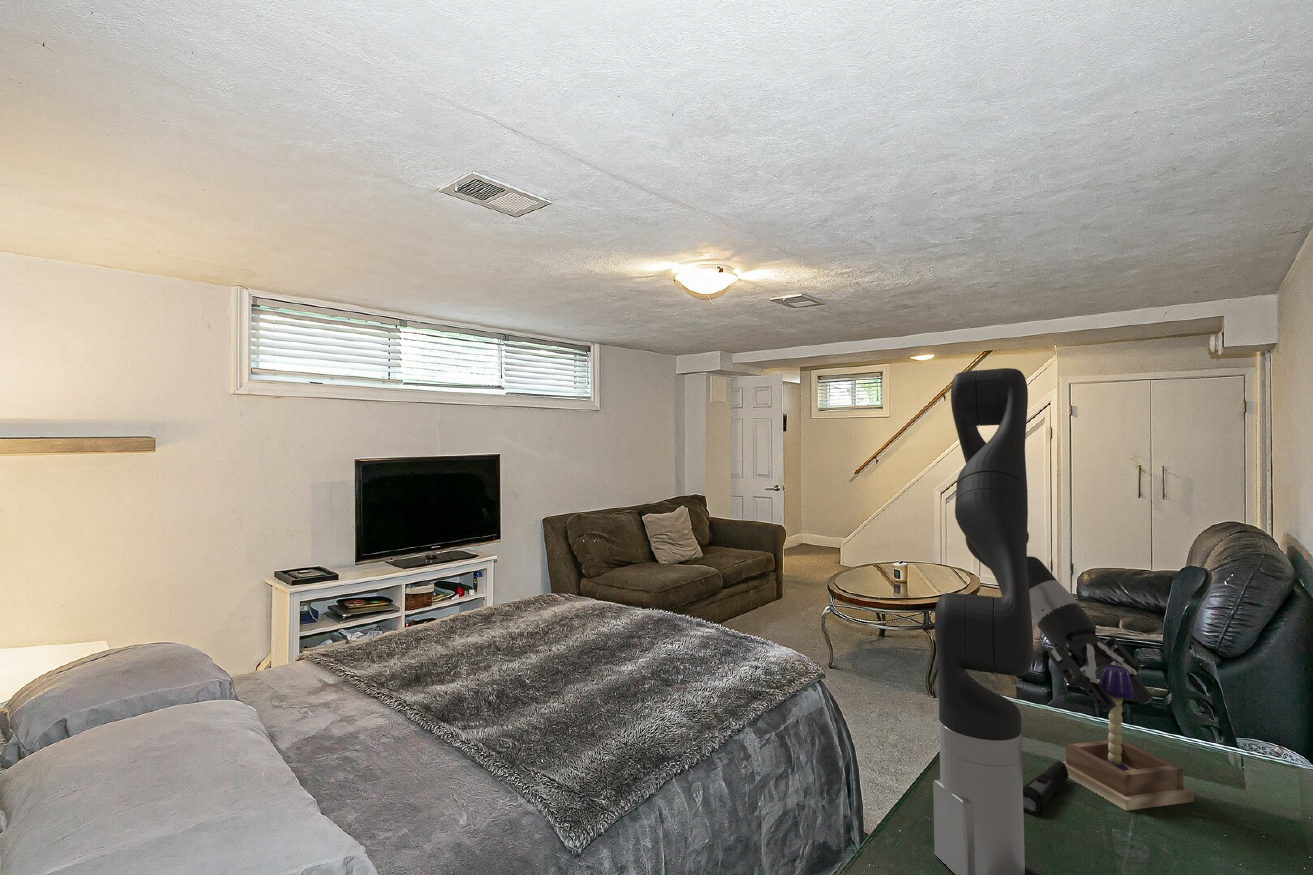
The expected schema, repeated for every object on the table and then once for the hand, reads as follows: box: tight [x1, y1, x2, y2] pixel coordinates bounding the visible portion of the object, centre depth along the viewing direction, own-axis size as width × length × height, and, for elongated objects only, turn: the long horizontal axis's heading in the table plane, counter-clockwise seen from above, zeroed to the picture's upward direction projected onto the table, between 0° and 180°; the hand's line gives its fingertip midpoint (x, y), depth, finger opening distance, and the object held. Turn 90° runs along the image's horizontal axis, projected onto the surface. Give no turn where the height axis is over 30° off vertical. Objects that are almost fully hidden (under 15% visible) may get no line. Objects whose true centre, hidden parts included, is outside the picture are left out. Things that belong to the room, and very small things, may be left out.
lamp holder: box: [1060, 739, 1195, 811], centre depth 99 cm, size 12×12×4 cm
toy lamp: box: [1098, 665, 1135, 771], centre depth 99 cm, size 5×5×17 cm
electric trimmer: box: [1023, 760, 1069, 817], centre depth 97 cm, size 4×16×3 cm, turn 131°
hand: (1129, 705), depth 98 cm, fingers open, 8 cm apart
